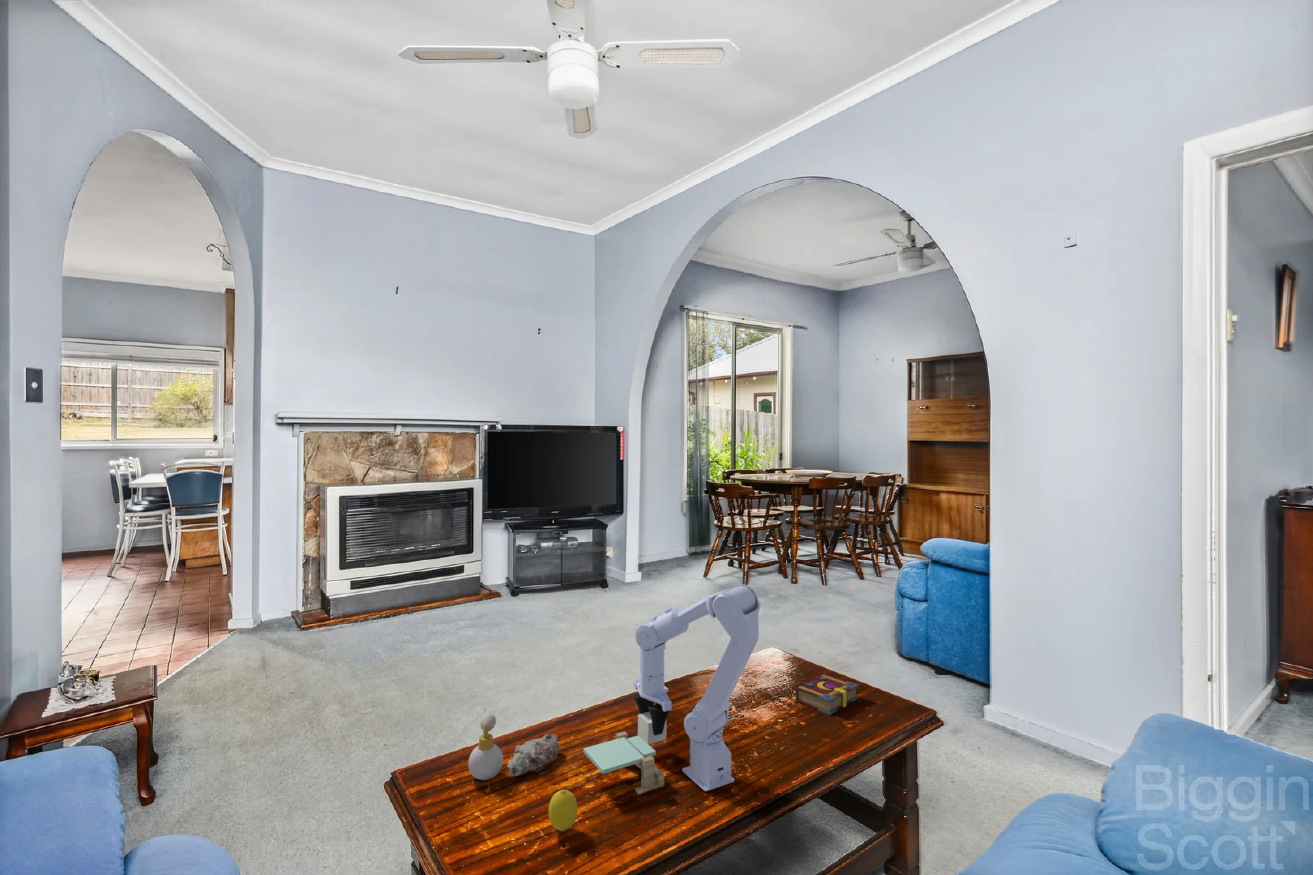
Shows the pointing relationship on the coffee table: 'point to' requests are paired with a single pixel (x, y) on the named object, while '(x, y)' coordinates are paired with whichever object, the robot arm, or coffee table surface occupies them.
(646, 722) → the white cube
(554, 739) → the mineral rock
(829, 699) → the decorative book
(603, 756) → the trapdoor
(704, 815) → the coffee table surface
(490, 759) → the perfume bottle
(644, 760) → the frame
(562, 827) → the lemon
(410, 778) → the coffee table surface
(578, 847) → the coffee table surface
